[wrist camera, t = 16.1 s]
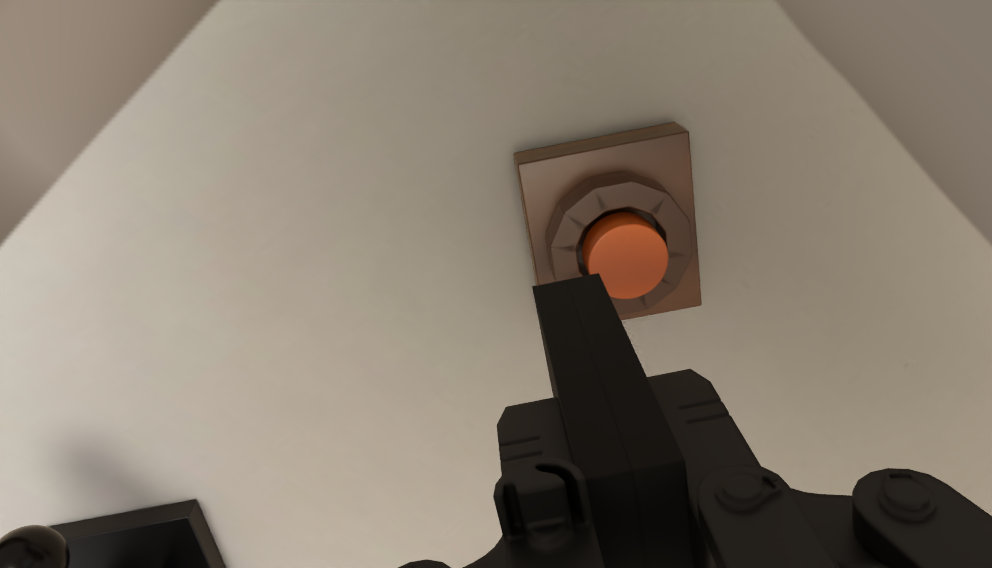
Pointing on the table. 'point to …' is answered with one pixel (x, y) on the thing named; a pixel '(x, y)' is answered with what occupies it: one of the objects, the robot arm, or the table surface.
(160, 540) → the bracket
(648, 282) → the button
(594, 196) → the button block
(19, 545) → the lever
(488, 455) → the table surface
